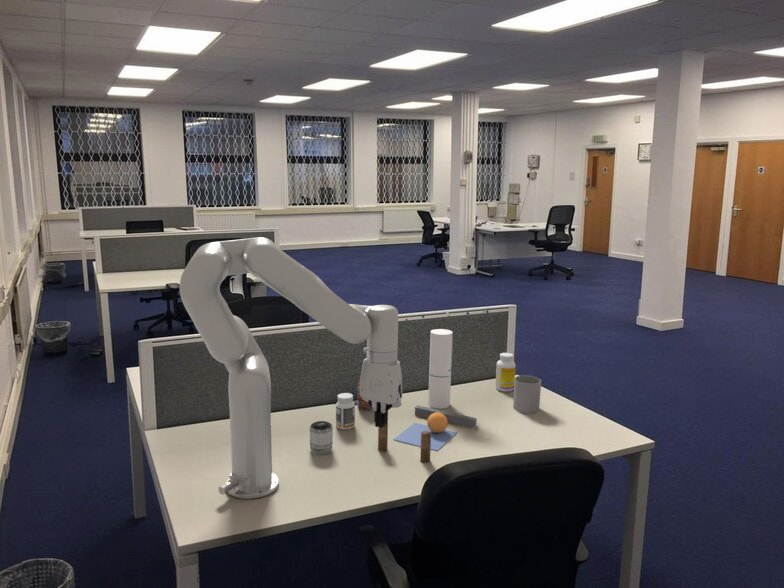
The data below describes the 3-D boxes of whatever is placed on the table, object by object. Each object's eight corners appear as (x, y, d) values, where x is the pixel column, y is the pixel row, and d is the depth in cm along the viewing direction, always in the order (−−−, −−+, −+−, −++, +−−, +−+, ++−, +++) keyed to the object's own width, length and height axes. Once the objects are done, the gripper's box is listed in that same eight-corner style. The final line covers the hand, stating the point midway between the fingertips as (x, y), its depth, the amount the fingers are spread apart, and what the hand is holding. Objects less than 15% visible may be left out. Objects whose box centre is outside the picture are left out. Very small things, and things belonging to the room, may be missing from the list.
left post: (384, 452, 174) (385, 425, 172) (376, 450, 175) (376, 423, 173) (389, 448, 176) (389, 422, 175) (380, 446, 177) (381, 420, 176)
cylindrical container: (453, 403, 211) (456, 331, 206) (443, 410, 205) (446, 335, 200) (434, 399, 214) (437, 327, 209) (424, 405, 208) (426, 332, 203)
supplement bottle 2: (518, 390, 224) (520, 355, 222) (503, 393, 221) (505, 358, 218) (505, 384, 230) (507, 350, 227) (491, 387, 227) (493, 353, 224)
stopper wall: (473, 428, 191) (474, 420, 191) (414, 414, 201) (415, 407, 200) (476, 425, 193) (476, 418, 192) (417, 412, 202) (417, 405, 202)
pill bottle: (356, 423, 193) (356, 392, 191) (353, 431, 188) (353, 399, 186) (337, 422, 194) (337, 391, 192) (334, 429, 188) (334, 398, 186)
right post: (427, 463, 168) (428, 435, 166) (418, 461, 169) (419, 433, 167) (431, 459, 170) (432, 432, 168) (422, 457, 171) (423, 430, 170)
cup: (511, 411, 205) (513, 382, 203) (514, 402, 213) (516, 374, 211) (538, 414, 203) (540, 385, 201) (540, 405, 210) (542, 377, 208)
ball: (449, 433, 188) (441, 435, 183) (431, 430, 191) (422, 431, 186) (451, 413, 188) (443, 414, 183) (433, 410, 192) (425, 411, 186)
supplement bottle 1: (354, 410, 204) (354, 376, 201) (361, 403, 209) (361, 371, 207) (372, 412, 202) (372, 379, 199) (378, 406, 207) (378, 373, 205)
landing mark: (437, 451, 175) (437, 450, 175) (393, 440, 182) (393, 439, 182) (457, 433, 187) (457, 432, 187) (414, 423, 194) (414, 422, 194)
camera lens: (305, 449, 175) (305, 422, 173) (324, 443, 179) (324, 417, 177) (318, 457, 170) (317, 430, 169) (337, 451, 174) (337, 424, 173)
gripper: (348, 354, 155) (347, 424, 159) (402, 364, 148) (400, 437, 152) (363, 347, 162) (363, 414, 165) (416, 356, 155) (414, 426, 158)
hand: (381, 425), depth 159 cm, fingers closed
